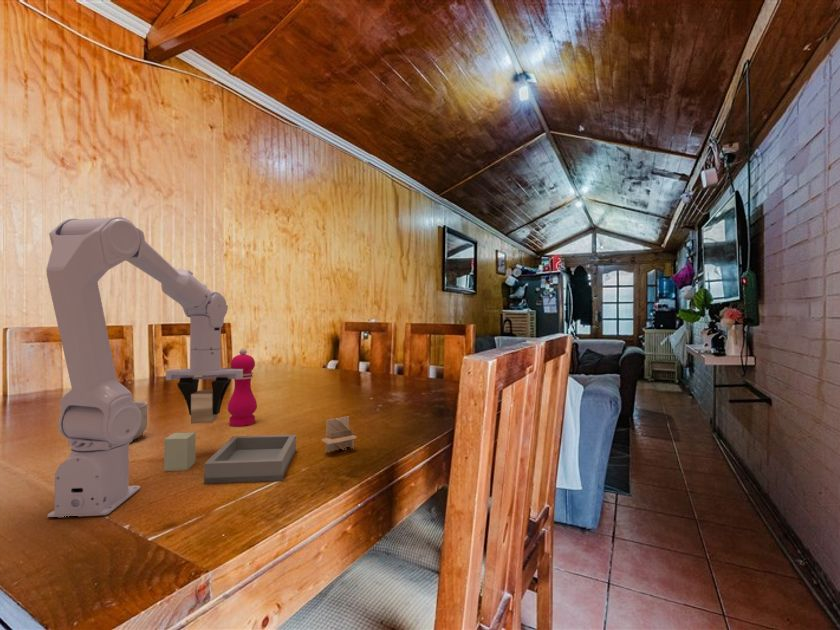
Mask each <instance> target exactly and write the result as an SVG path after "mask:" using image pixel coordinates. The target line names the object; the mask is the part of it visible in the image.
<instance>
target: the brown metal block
mask: <svg viewBox="0 0 840 630" xmlns="http://www.w3.org/2000/svg"><path fill="white" fill-rule="evenodd" d="M218 418H219V413H218V414H217V415H213V389H211V390H197V392H195V393H193V394H191V415H190V424H194V425H195V424H212V423H214V422H215V421H216V420H217V419H218Z"/></svg>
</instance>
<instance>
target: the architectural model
mask: <svg viewBox="0 0 840 630" xmlns="http://www.w3.org/2000/svg"><path fill="white" fill-rule="evenodd" d="M325 424H326V425H325V427H326V428H325V430H326V431H325V438H321V442H323V443H325V453H326V452H328V453H330V452H329V451H332V452H334V451H333V450H337V449H342V451H343V450H346V451H347V448H346V447H348V446H349V447H351V448H353V449H354V440H355V439H357V435H354V430H352V429H351V428H350V416H342V417H337V418H330V419H326V421H325ZM344 447H345V449H344ZM337 451H338V450H337Z"/></svg>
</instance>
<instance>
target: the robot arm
mask: <svg viewBox="0 0 840 630" xmlns="http://www.w3.org/2000/svg"><path fill="white" fill-rule="evenodd" d="M48 234H49V239H50V243H51V251H50V255H49V258H48V263H47V266H46V277H47V283H48V288H49V293H50V296H51V301H52V305H53V310H54V315H55V318H56V323H57V329H58V332H59V336H60V341H61V346H62V351H63V354H64V359H65V360H64V361H65V365H66V368H67V372H68V378H69V382H70V386H71V389H70V390H69V391H68V392H66V393H65V394H64V395H63V396H62V397H61V398H60V399H59V403H60V415H59V418H58V424H57V427H58V431H59V433H60V435H61V436H62V437H64V438H65V439H67V443H68V444H67V446H68V447H70V453H69V456H68V457H67V458H66V459H65V460H64V461H63V462H62V463H61V464H60V465H59V466H58V467H57V469H56V471H55V475H54V501H53V502H54V507H53V509H54V510H52V511H51V512H49V513H48V514H47V518H48V517H58V518H70V517H69V516H78V517H94V516H95V517H97V516H107V515H108V514H110V513H112V511H115V509H117V508H118V507H119V506H121V504H123V503H124V502H125V501H127V500H128V499H130V497H132V496H133V495H134V494H135V493H137V492H138V491H139V490H140V489H141V486H140V485H129V484H130V483H129V481H130V476H129V475H130V472H129V471H130V467H129V466H130V443H132V442H133V437H134V436H135V435H136V434H137V432H138V430H139V428H140V426H141V422H142V415H141V411H140V409H139V408H138V406H137V405H136V404H135V403H134V402H135V401H134V398H133V393H132V392H131V391H130V390H129V389H128V388H127V387H126V386H125V385H123V384H122V383H121V382H120V381H119V380H118V379H117V373H116V369H115V363H114V359H113V354H112V348H111V343H110V337H109V332H108V328H107V322H106V319H105V318H106V317H105V314H104V308H103V302H102V299H101V297H102V296H101V293H100V288H99V281H100V279H101V278H102V277H104V275H105V274H106V273H107V272H108V271H109V270H111V269H112V268H114V267H116V266H118V265H120V264H122V263H124V262H127V263H130V264H131V265H132V266H134V267H136V268H137V269H138V270H141V271H142V272H143V273H144V274H147V275H148V276H150V277H151V278H153V279H154V280H156V281H158V282H159V283H160V284H161V285H160V286H161V291H162V292H163V293H164V294H165V296H167V297H169V298H170V299H171V300H173V301H175V302H176V303H177V304H179V305H180V306H181V307H182V309H183V312H184V314H185V316H186V317H188V318H189V319H190V321H189V322H190V323H189V325H190V329H189V331H190V332H189V333H190V334H189V368H183V369H182V368H181V369H179V368H177V369H169V370H166V371H165V381H173V380H179V382H177V388H178V389H179V390H180V392H181V393H182V396H183V397H184V400H185V403H186V406H187V408H188V413H189V414H188V415H189V416H191V394H193V393H195V392H197V391H199V382H200V380H212V381H211V387H212V389H211V390H213V415H217V414H218V415H219V414H220V412H221V408H222V403H223V399H224V396H225V395H226V393H227V390H228V387H230V384H231V383H232V382H231V381H232V380H234V379H242V378H243V369H231V368H222V367H221V364H222V363H221V361H222V360H221V358H222V357H221V355H222V353H221V351H222V349H221V347H222V345H221V344H222V328H223V326H224V324H225V317H226V315H227V313H228V309H229V306H228V304H227V300H226V298H225V297H224V295H222V294H221V293H220V292H217V291H211V290H210V289H209V288H208V286H207V285H206V284H203V283H202V282H201V281H199V279H197V278H196V277H195V276H194V273H193V272H192V271H191V270H189V269H188V270H187V269H184V268H182V269H181V268H180V269H179V268H178V269H176V268H175V267H173V266H172V264H170V262H168V261H167V260H166V259H165V258H164V257H163V256H162V255H161V254H160V253H159V252H158V251H157V250H156V249H155V248H153V247H152V245H150V243H148V242H147V241H146V239H145V234H144V231H142V230H141V229H140V228H139V227H137V226H135V224H134V223H133V222H132V221H131V220H129V219H127V218H126V217H123V216H113V217H105V218H104V217H103V218H101V217H100V218H83V219H81V218H80V219H79V218H67V219H65V220H63V221H61V222H60V223H58V225H57V226H55V228H53V230H52V229H51V231H50V232H49V233H48ZM64 516H65V517H64ZM66 516H68V517H66Z"/></svg>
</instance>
